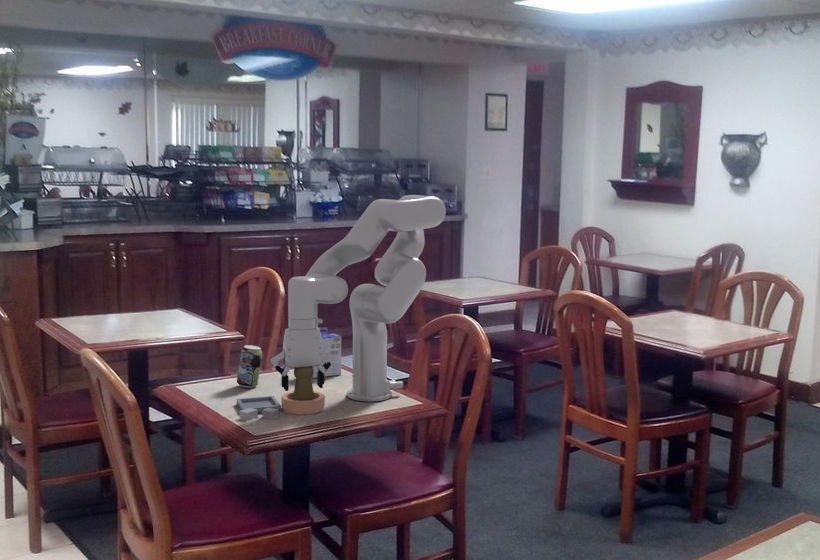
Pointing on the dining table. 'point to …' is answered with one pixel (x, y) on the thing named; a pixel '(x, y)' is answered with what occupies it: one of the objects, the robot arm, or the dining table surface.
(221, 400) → the dining table surface
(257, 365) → the beverage can
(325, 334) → the ink cartridge box
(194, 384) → the dining table surface
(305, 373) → the olive pestle
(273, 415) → the grey block
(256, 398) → the tray
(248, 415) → the light grey block
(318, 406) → the bowl
